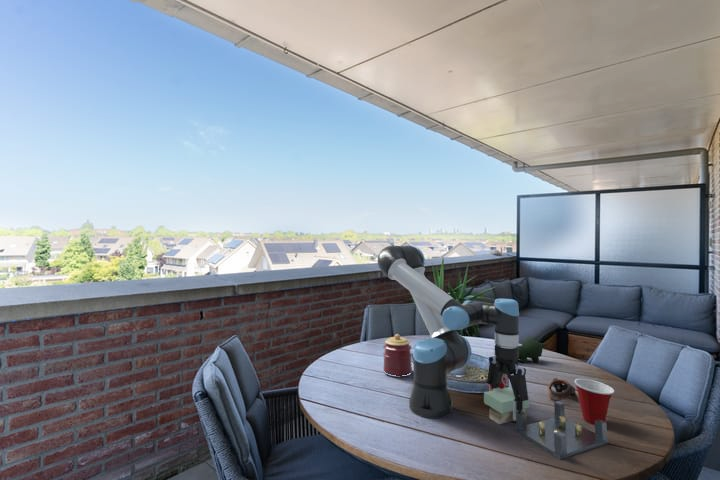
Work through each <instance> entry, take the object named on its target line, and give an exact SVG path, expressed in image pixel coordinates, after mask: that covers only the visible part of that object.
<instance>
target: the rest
mask: <svg viewBox="0 0 720 480" xmlns="http://www.w3.org/2000/svg"><path fill="white" fill-rule="evenodd" d="M527 409H528V408H524V409H522V412H524V413H526V418H527V416H528V415H527V413H528V412H527ZM488 412H489V413H488V414H489V415H488V416H489V419H490V420H492V421H494V422H495V423H496V424H498V425H501V424H505V423H509V422H513V421H514V420H513V411H511V412H507V413H503V414H502V413H500V412H498V411H497V410H495V409H494V408H492V407H490V408H489V411H488Z"/></svg>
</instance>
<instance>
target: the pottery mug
mask: <svg viewBox="0 0 720 480" xmlns="http://www.w3.org/2000/svg"><path fill="white" fill-rule="evenodd" d="M552 387H554V390H555V391H554V390H553V388H552ZM548 397H549V399H550V400H552V399H553V400H554V399H555V400H558V401H560V400H565V399H572V398H574V399H575V400H576V402H578V403H580V402H579V396H578V393H577V392H576V388H575V387H574V386H573V385H572V384H570V383H569V381H567V380H565V379H562V378H561V379H560V378H558V377H555V378H553V379H552V381H551V382H549V384H548Z"/></svg>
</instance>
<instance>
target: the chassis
mask: <svg viewBox="0 0 720 480" xmlns="http://www.w3.org/2000/svg"><path fill="white" fill-rule="evenodd" d="M553 404H554V405H553V406H554V407H553V408H554V411H553V412H554V417H551V418H548V419H544V420H541V421H537V422H533V423H529V424H527V417H526V413H524V412H522V411H517V412H516V421H515V423H516V424H515V428H514V432H515V433H516V434H518V435H519V436H522V437H523V439H526V440H528V441H529V442H530V443H533V444H534V445H536V446H538V447H540V448H541V449H542V450H544V451H545V452H547V453H549V454H551V455H552V456H554V457H555V458H557V459H559V460H564V459H567V458H569V457H572V456H575V455H578V454H580V453H583V452H587V451H589V450H591V449H595V448H598V447H601V446H604V445H606V444H608V443H609V439H608V434H607V432H608V431H607V430H608V428H607V424H608V423H607V422H606V420H605V421H602V420H600V419H598V420H595V425H594V431H592V430H590V429H588V428H585V427H583V426H582V424H581V423H579V422H574V421H571V420H570V419H567V418H566V416H565V403H564V402H561V401H560V400H556V401H554V403H553Z"/></svg>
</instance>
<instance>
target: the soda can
mask: <svg viewBox="0 0 720 480" xmlns="http://www.w3.org/2000/svg"><path fill="white" fill-rule="evenodd" d="M499 385H500V387H497V388H500V389H503V388H508V387H510V380H509V378H508V377H507V374H505V373H504V374H503V376H502V379H501V381H500V384H499ZM489 391H492V387H491V385H490V384H488V392H489Z"/></svg>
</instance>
